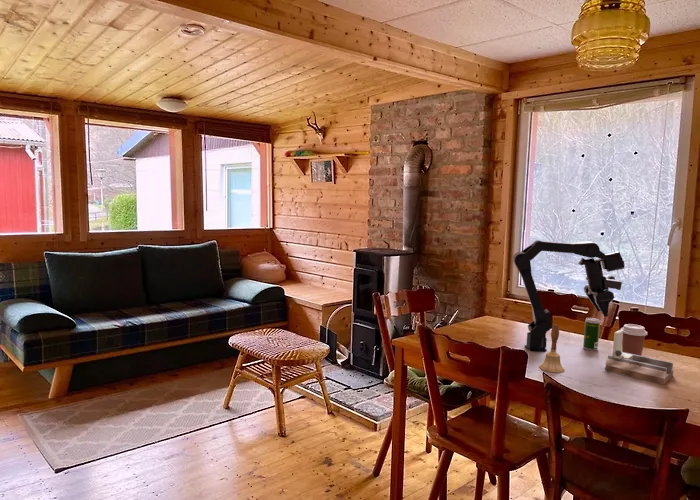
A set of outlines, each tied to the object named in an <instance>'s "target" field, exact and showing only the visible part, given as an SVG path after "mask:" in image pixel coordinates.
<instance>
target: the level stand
mask: <svg viewBox="0 0 700 500" xmlns="http://www.w3.org/2000/svg"><path fill="white" fill-rule="evenodd" d="M621 352H622V351H621ZM622 353H625V352H622ZM627 354H630V353H627ZM632 355H633V360H629V359H624V358H621V359H619V358H614V356H612V355H610V354H608V355H607V358H606V359H605V367H604V369H605V371H606V372H611V373H613V374H618V375H622V376H627V377H631V378H635V379H639V380H643V381H647V382H652V383H656V384H660V385H665V384H666V383H667V382H668V381H669V380H670V379H671V378H673V376H674V370H673V369H674V362H671V361H667V360H662V359H658V358H653V357H649V356H645V355H641V356H640V355H635V354H632Z"/></svg>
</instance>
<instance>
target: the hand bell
mask: <svg viewBox="0 0 700 500" xmlns="http://www.w3.org/2000/svg"><path fill="white" fill-rule="evenodd" d="M559 336H560V329H559V325H558V324H555V323H554V324H553V326H552V327H551V332H550V338H551V348H550V351H548V352H546V353H545V356H544V357H545V358H544V360H543V362H542V363H541V364H540V365H539V366H538V367H539V369H541V371H545V372H547V373H556V374H561V373H564V372H565V368H564V367H563V365H562V363H561V355H560V354H559V353H558V352H557V343H558V340H559Z"/></svg>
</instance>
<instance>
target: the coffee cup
mask: <svg viewBox="0 0 700 500" xmlns="http://www.w3.org/2000/svg"><path fill="white" fill-rule="evenodd" d="M645 329H646V328H645V327H644V326H642V325H641V324H640V325H638V324H633V323H628V324H627V323H626V324H624V325H623V327H621V328H620V329H619V330H623V339H622V351H621V352H625V353H630V354H635V355H640V356H643V355H642V354H643V349H644V345H645V339H646V336H648V331H646V330H645Z"/></svg>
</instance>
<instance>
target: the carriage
mask: <svg viewBox="0 0 700 500" xmlns="http://www.w3.org/2000/svg"><path fill="white" fill-rule="evenodd" d="M622 339H623V330H620V329H618V330H617V331H615V332H614V334H613V344H612V355H611V356H614V358H619V359H621V358H624V359H629V360H633V355H632V354H627V353H622Z"/></svg>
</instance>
